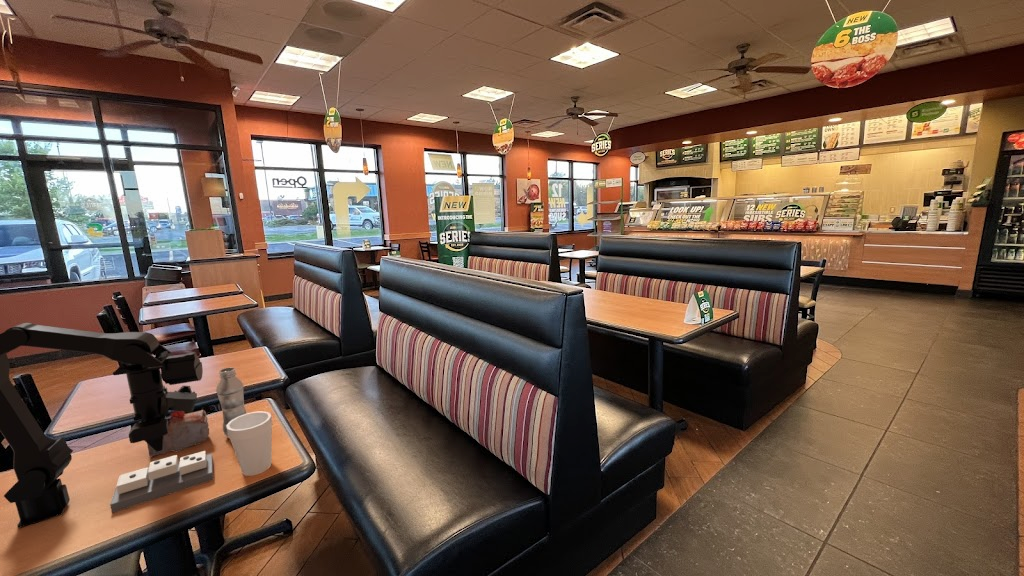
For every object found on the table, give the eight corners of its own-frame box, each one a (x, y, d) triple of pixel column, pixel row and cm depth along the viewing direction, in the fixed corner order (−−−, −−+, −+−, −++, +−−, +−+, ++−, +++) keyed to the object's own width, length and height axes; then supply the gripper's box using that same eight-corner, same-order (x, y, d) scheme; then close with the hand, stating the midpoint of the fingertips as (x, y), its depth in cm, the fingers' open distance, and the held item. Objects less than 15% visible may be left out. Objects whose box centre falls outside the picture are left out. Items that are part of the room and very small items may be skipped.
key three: (180, 475, 98) (179, 466, 98) (181, 465, 102) (180, 456, 102) (206, 467, 101) (205, 459, 101) (206, 457, 105) (205, 449, 105)
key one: (117, 494, 92) (115, 485, 92) (121, 482, 96) (119, 474, 96) (147, 485, 95) (145, 476, 94) (150, 474, 99) (148, 466, 98)
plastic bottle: (238, 441, 117) (227, 375, 113) (218, 439, 118) (206, 373, 114) (256, 429, 123) (246, 366, 119) (237, 428, 124) (226, 364, 120)
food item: (211, 431, 123) (205, 400, 121) (211, 443, 116) (205, 411, 114) (150, 448, 115) (143, 415, 113) (147, 461, 108) (139, 427, 107)
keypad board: (112, 512, 90) (110, 504, 90) (119, 488, 98) (118, 480, 98) (213, 479, 100) (211, 472, 100) (213, 460, 108) (211, 453, 108)
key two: (149, 480, 95) (147, 471, 95) (151, 469, 99) (150, 461, 99) (177, 472, 98) (175, 463, 97) (178, 462, 102) (176, 453, 101)
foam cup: (286, 462, 107) (279, 415, 104) (251, 483, 98) (242, 433, 96) (262, 453, 111) (255, 408, 108) (226, 474, 102) (217, 425, 100)
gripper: (189, 392, 91) (201, 456, 94) (192, 367, 106) (202, 423, 109) (121, 407, 85) (136, 475, 88) (134, 378, 100) (147, 437, 103)
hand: (159, 450), depth 97 cm, fingers closed
